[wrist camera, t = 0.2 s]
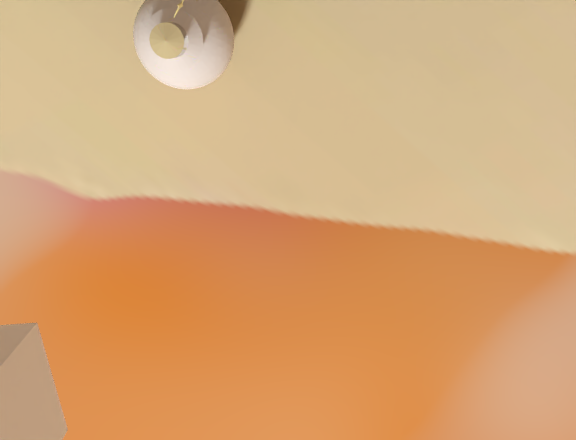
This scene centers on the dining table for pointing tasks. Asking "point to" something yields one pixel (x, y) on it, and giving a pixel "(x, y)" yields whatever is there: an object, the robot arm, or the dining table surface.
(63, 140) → the dining table surface
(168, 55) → the ornament
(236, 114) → the dining table surface
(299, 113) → the dining table surface
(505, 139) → the dining table surface
